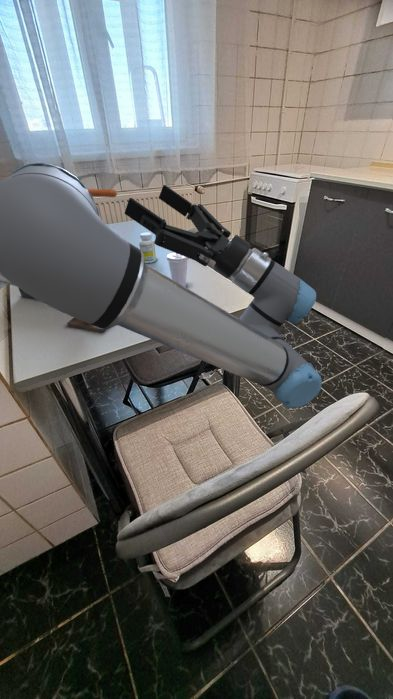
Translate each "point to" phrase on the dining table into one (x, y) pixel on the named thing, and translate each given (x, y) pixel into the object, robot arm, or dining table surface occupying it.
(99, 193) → the orange rod
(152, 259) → the supplement bottle
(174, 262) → the smoothie
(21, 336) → the dining table surface
